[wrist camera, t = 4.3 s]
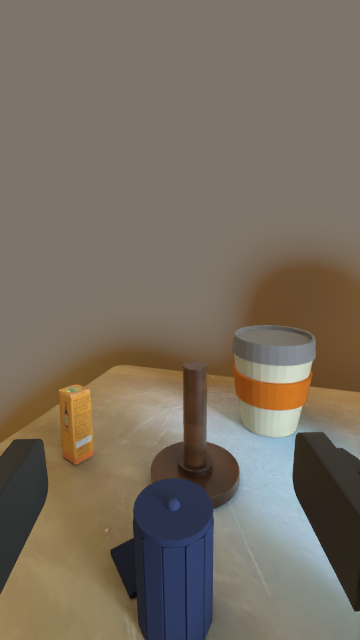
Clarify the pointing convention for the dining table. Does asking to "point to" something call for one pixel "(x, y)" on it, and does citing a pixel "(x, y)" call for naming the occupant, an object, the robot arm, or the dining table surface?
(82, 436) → the supplement box
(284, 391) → the reusable coffee cup
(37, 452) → the robot arm
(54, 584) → the dining table surface
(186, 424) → the paper towel holder
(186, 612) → the navy lidded canister
